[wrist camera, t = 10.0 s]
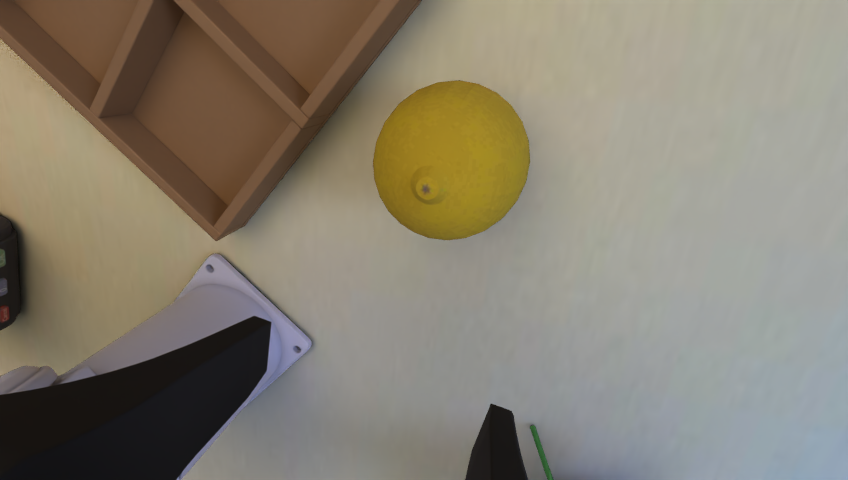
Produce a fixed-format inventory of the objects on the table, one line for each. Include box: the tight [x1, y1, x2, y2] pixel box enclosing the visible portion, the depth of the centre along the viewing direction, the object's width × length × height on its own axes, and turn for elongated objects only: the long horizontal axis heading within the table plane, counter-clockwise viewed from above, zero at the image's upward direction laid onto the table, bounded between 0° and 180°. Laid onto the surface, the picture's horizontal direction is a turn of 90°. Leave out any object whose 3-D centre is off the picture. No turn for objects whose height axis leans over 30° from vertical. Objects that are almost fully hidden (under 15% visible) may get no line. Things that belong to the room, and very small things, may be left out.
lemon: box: [373, 81, 530, 240], centre depth 16 cm, size 6×6×8 cm
